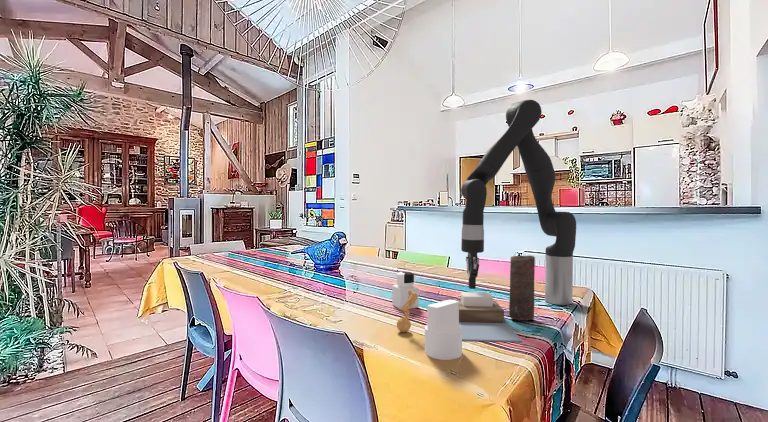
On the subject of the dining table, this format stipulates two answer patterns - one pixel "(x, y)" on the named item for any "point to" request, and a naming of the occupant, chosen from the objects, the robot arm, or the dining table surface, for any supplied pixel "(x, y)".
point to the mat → (488, 332)
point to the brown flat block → (481, 313)
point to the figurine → (404, 323)
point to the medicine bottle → (404, 290)
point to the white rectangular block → (476, 299)
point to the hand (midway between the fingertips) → (471, 288)
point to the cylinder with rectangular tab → (443, 331)
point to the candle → (522, 287)
